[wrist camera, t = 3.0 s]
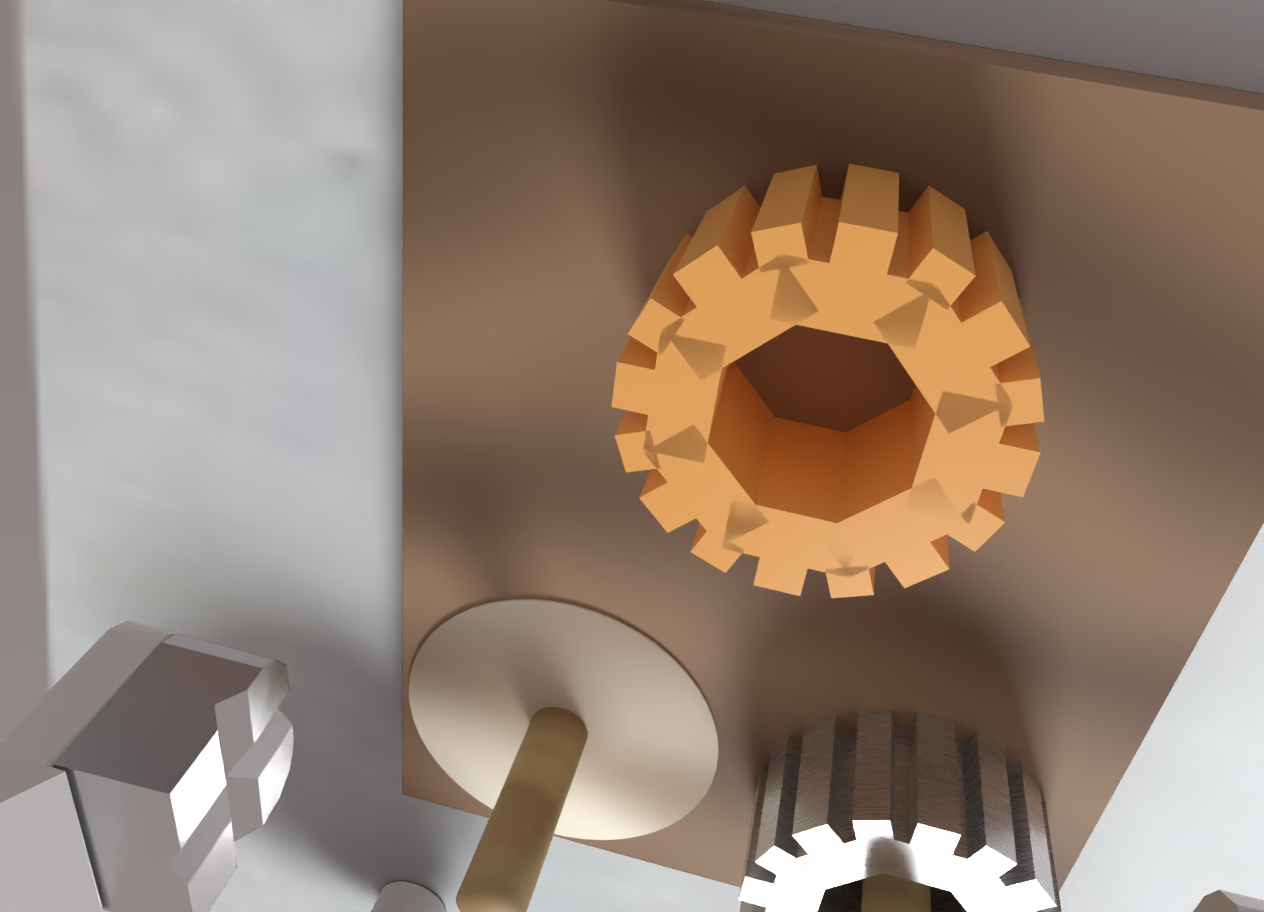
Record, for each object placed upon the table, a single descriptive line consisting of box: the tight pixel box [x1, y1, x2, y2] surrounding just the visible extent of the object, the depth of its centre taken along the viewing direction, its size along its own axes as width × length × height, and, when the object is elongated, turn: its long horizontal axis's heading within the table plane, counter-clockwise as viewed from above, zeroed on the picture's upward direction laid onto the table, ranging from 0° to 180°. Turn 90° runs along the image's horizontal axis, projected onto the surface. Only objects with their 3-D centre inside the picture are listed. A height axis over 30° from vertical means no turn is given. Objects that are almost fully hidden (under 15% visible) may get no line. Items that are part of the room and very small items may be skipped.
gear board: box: [402, 0, 1264, 912], centre depth 19 cm, size 20×16×6 cm
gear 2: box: [738, 708, 1061, 912], centre depth 22 cm, size 6×6×3 cm
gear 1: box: [611, 164, 1044, 598], centre depth 17 cm, size 6×6×3 cm
